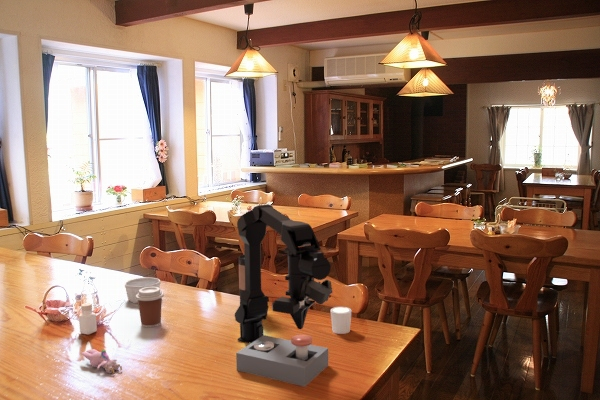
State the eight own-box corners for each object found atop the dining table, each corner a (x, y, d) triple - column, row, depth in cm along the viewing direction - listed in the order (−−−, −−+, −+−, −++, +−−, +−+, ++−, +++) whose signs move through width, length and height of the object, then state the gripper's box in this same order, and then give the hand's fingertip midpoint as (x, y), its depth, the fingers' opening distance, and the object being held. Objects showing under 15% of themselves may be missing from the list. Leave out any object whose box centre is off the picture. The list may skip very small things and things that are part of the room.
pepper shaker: (79, 333, 178) (77, 305, 177) (89, 329, 181) (87, 301, 180) (87, 335, 176) (85, 307, 175) (97, 331, 179) (95, 303, 178)
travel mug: (252, 315, 192) (251, 260, 189) (235, 312, 196) (233, 257, 193) (265, 309, 198) (264, 255, 196) (248, 305, 202) (247, 253, 200)
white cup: (350, 335, 173) (350, 314, 172) (328, 333, 174) (328, 312, 173) (352, 327, 180) (352, 306, 179) (332, 326, 181) (331, 305, 180)
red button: (287, 360, 146) (287, 340, 145) (297, 352, 151) (297, 333, 150) (306, 364, 143) (305, 344, 143) (315, 356, 148) (315, 336, 147)
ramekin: (146, 291, 222) (145, 275, 221) (168, 297, 214) (167, 280, 213) (118, 300, 211) (117, 283, 210) (140, 306, 203) (139, 288, 202)
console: (236, 370, 149) (236, 352, 149) (264, 351, 162) (263, 335, 161) (304, 386, 139) (304, 368, 139) (328, 365, 152) (328, 348, 151)
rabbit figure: (127, 373, 152) (93, 353, 160) (128, 354, 150) (94, 334, 158) (107, 382, 147) (74, 361, 154) (108, 362, 145) (74, 342, 153)
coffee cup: (144, 331, 179) (142, 295, 177) (132, 323, 186) (130, 289, 184) (169, 324, 185) (168, 289, 183) (157, 317, 192) (155, 284, 190)
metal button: (250, 365, 152) (250, 346, 152) (261, 357, 157) (260, 339, 156) (267, 369, 150) (267, 350, 149) (278, 361, 154) (277, 343, 154)
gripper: (309, 284, 132) (310, 346, 134) (341, 266, 148) (342, 322, 150) (270, 279, 137) (271, 338, 139) (305, 262, 154) (306, 316, 156)
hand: (300, 328), depth 146 cm, fingers closed
